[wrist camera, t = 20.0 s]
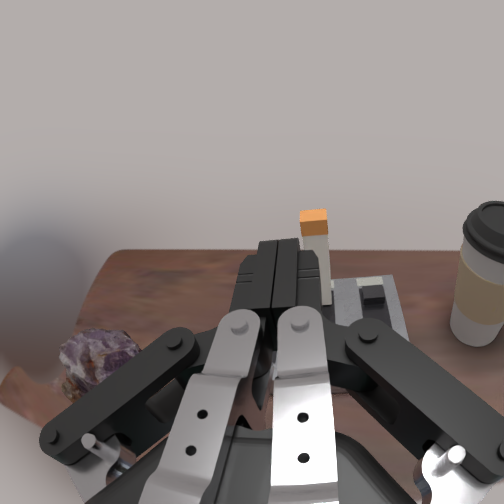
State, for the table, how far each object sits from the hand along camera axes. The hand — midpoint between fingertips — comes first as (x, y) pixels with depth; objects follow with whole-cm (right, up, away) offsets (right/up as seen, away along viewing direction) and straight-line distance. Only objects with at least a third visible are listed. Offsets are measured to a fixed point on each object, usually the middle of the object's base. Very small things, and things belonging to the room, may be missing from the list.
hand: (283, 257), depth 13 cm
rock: (-16, -17, +21) cm, 31 cm away
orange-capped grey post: (+7, -5, +23) cm, 25 cm away
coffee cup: (+25, -9, +18) cm, 32 cm away
